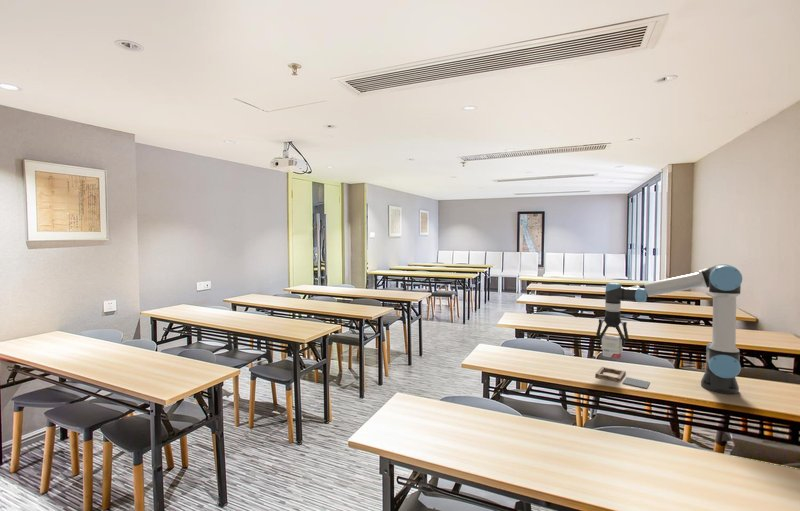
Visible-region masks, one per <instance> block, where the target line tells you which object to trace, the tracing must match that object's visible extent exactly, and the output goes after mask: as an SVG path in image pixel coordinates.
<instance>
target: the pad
mask: <svg viewBox="0 0 800 511" xmlns="http://www.w3.org/2000/svg"><path fill="white" fill-rule="evenodd" d="M622 384H623V385H627V386H631V387H635V388H641V389H643V390H644V389H645V390H648V387H649V385H650V384H651V382H650V381H647V380H643V379H638V378H637V379H636V378H633V377H627V376H626V377H625V379H624V380H623V382H622Z"/></svg>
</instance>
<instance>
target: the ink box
mask: <svg viewBox="0 0 800 511" xmlns="http://www.w3.org/2000/svg"><path fill="white" fill-rule="evenodd" d="M621 340H622V339H621V337H620V335H614V334H607V333H605V334H604V335H603V350H602V356H603V357H607V358H611V359H612V358H613V359H619V360H620V359H621V357H622V353H620V341H621Z"/></svg>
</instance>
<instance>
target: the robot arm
mask: <svg viewBox="0 0 800 511" xmlns="http://www.w3.org/2000/svg"><path fill="white" fill-rule="evenodd" d="M742 282H743V275H742V273H741V271H740V270H739V269H738V268H736V267H734V266H733V265H730V264H724V263H722V264H716V265H713V266H711V267H707V268H703V269H700V270H699V271H698V272H694V273H688V274H684V275H679V276H675V277H669V278H665V279H661V280H660V279H659V280H656V281H650V282H646V283H641V284H634V285H631V286H629V287H625V286H622V284H621V283H619V282H607V283H606V284H605V292H604V293H605V297H604V298H605V299H604V301H605V303H604V304H605V305H604V306H605V307H604V309H605V311H604V318H599V319H598V326H597V329H596V336H597V337H598V338H599V343H600V344H601V350H602V351H603V335H605V334H606V332H607V330H608V328H615V329H616V331H617V332H618V333H617V334H618V336H620V337H621V341H620V353H621V354H622V353H623V348H624V347H625V344H626V341H628V340H629V339H630V337H629V333H628V328H627V324H628V322H627V321H622V319H621V305H622V304H621V302H624V301H625V302H633V303H646V302H647V298H650V297H654V296H660V295H663V294H664V295H665V294H669V293H676V292H680V291H686V290H692V289H697V288H702V287H703V288H706V289H708V292H709V293H710V294H711V295H712V341H711V342H709V343H707V344H706V348H705V349H706V354H705V356H706V357H705V358H706V360H705V371H704V373H703V376H702V378H701V380H700V385H701V387H702V388H704V389H706V390H708V391H712V392H716V393H721V394H727V395H728V394H729V395H736V394H739V392H740V387H739V384H738V382H737V379H736V377H738V375H740V373H741V369H742V366H741V362H740V357H741V356H740V352H741V351H740V349H739V348H737V347H736V346H737V345H736V342H737V341H736V333H737V331H736V330H737V328H736V327H737V325H736V323H737V320H736V319H737V297H738V296H740V295H741V290H742V289H741V288H742V287H741V285H742ZM603 323H605V324H606V325H605V326H604V328H603V330H602V327H603ZM620 324H621V326H622V328H623V329H622V330H623V332H622V330H621V328H620ZM601 331H602V332H601Z"/></svg>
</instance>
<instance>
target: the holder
mask: <svg viewBox="0 0 800 511" xmlns="http://www.w3.org/2000/svg"><path fill="white" fill-rule="evenodd" d="M604 372H609V373H613V374H618V376H611V375H608V374H607V375H606V374H603V373H604ZM626 373H627V372H626V370H621V369H616V368H611V367H606V366H601V367H600V369H598V370H597V372H595V378H599V379H603V380H607V381H612V382H617V383H620V382H621V381H622V380H623V378H624V377H625V376H626V375H627V374H626Z"/></svg>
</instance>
